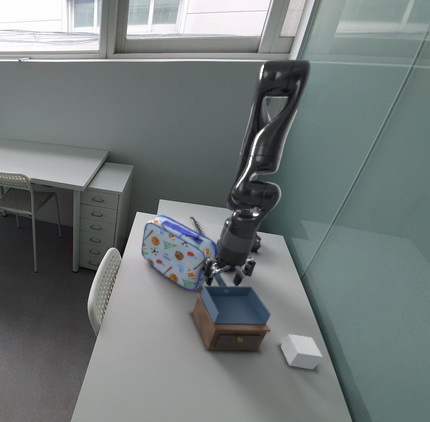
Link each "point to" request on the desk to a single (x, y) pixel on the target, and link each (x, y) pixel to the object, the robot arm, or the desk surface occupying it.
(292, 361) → the white cube
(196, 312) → the storage box
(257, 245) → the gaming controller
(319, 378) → the desk surface
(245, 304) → the dustpan
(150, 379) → the desk surface
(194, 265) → the lunch box
